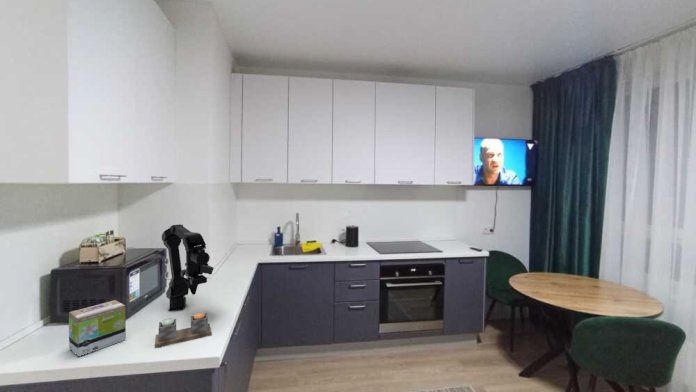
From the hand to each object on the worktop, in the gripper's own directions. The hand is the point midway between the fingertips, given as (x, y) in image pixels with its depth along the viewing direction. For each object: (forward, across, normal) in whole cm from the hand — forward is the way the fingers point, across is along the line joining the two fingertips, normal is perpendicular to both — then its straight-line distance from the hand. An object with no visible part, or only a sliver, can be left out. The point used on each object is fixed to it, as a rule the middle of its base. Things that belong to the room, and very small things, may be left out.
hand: (193, 294), depth 138 cm
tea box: (+12, +2, +34) cm, 36 cm away
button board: (+12, -13, +8) cm, 20 cm away
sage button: (+6, -12, +13) cm, 19 cm away
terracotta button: (+6, -15, +2) cm, 16 cm away
